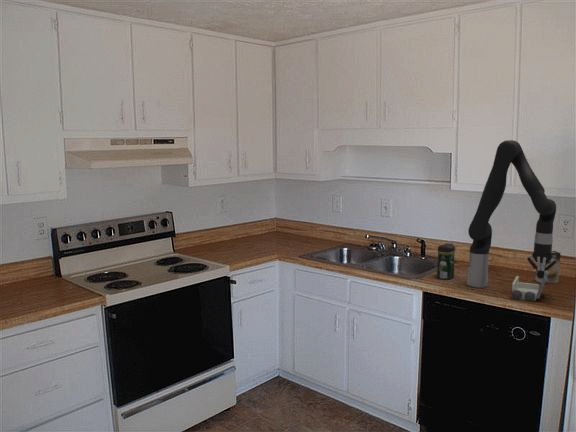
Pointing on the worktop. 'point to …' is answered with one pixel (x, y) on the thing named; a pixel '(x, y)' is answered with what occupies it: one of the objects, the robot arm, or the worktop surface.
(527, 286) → the cart
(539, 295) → the tailgate
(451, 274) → the coffee jar
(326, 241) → the worktop surface
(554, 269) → the coffee box
